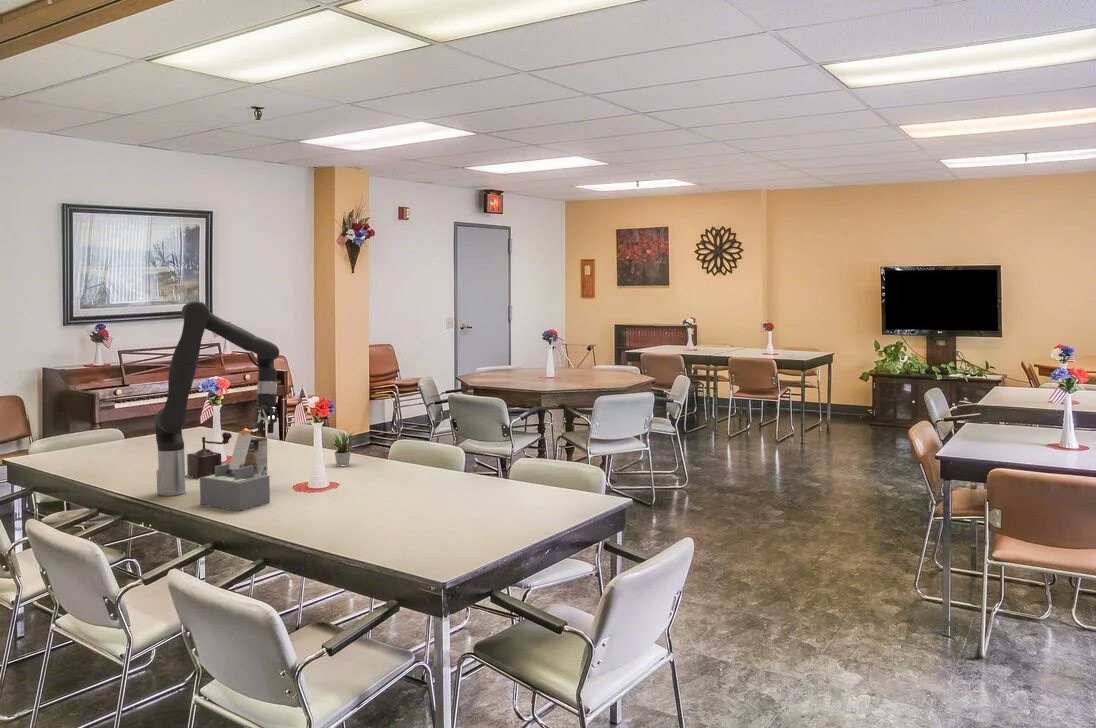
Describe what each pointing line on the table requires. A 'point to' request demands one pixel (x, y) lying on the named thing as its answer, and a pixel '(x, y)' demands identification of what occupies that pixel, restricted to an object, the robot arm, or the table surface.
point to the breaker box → (234, 488)
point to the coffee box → (257, 455)
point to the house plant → (342, 449)
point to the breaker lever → (239, 451)
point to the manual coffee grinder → (205, 459)
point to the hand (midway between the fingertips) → (265, 433)
